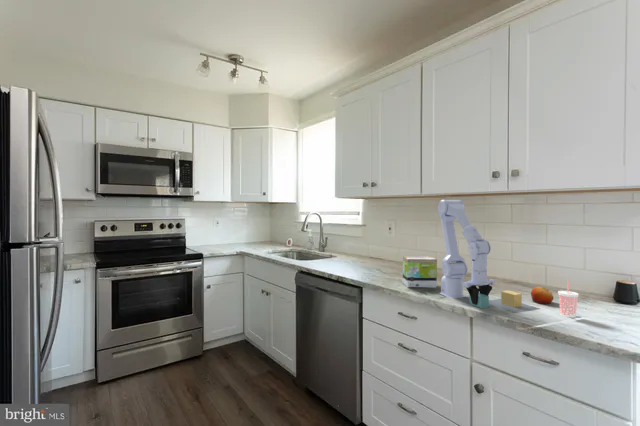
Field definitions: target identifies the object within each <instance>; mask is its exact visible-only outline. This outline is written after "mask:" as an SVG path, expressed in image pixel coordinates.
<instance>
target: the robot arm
mask: <svg viewBox="0 0 640 426" xmlns="http://www.w3.org/2000/svg"><path fill="white" fill-rule="evenodd" d="M437 210H438V211H437V212H438V217H439V220H440V223H441V230H442V235H443V236H442V237H443V240H444V241H443V242H444V247H445V248H444V249H445V253H446V256H445V257H444V258H442V260H441V273H442V274H443V276H442V277H441V278H440V279H441V280H440V292H439V295H441V296H444V297H449V298H452V299H460V298H465V297H467V298H468V296H469V298H470V297H471V301H472V304H475V305H477V303H478V294H479V293H480V294H483V295H487V296H489V295H490V293H491V291H492V290H493V286H492V285H495V279H490V278H489V279H488V255H489V254H490V252H491V244H490V242H489V241H488V240H487V239H486V240H485V239H484V238H483V237H482V236H481V234H480V233H479V231H478V229H477V227H476V226H475V225H472V224H471V221H470V220H469V218H468V216H467V214H466V211H465V210H466V206H465V203H464V202H463V200H461V199H441V200H440V201H439V203H438V205H437ZM455 219H456V220H457V222H458V223H459V225H460V227H461V228H462V232H461V233H462V235H463V237H464V238H465V240H466V242H467V244H468V246H467V250H468V252H469V256H470V257H469V258H470V259H471V260H470V261H471V265H470V267H471V269H470V270H471V278H470V280H466V281H464V278H465V276H466V275H467V274H468V266H467V264H466V260H465V258H464V257H462V256H461V255H460V253H459V247H458V241H457V237H456V235H457V234H456V230H455V224H454V221H455ZM464 288H466V290H467V291H468V294H469V295H468V296H467V295H464Z"/></svg>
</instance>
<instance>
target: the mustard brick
mask: <svg viewBox="0 0 640 426" xmlns="http://www.w3.org/2000/svg"><path fill="white" fill-rule="evenodd" d="M500 292H501V295H500V299H501V303H502V304H505V305H508V306H511V307H520V306H522V303H523V302H522V301H523V300H522V297H523V296H522V293H519V292H516V291H512V290H509V289H507V290H503V291H502V290H501V291H500Z"/></svg>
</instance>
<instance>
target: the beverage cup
mask: <svg viewBox="0 0 640 426" xmlns="http://www.w3.org/2000/svg"><path fill="white" fill-rule="evenodd" d="M566 280H567V285H566V286H567V288H566V290H558V291H557V294H558V301H559V314H560V316H563V317H566V318H572V320H575V319H576V317H577V307H578V297H579V292H575V291H570V279H569V278H567V279H566Z"/></svg>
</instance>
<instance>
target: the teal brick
mask: <svg viewBox="0 0 640 426" xmlns="http://www.w3.org/2000/svg"><path fill="white" fill-rule="evenodd" d="M489 300H490V298H489V295H488V296H487V295H483V294H480V292H479V294H478V303H477V305H475V304H472V301H471V297H470V296H469V305H471V306H474V307H476V308H479V309H486V308H489V307H490V305H489Z"/></svg>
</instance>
